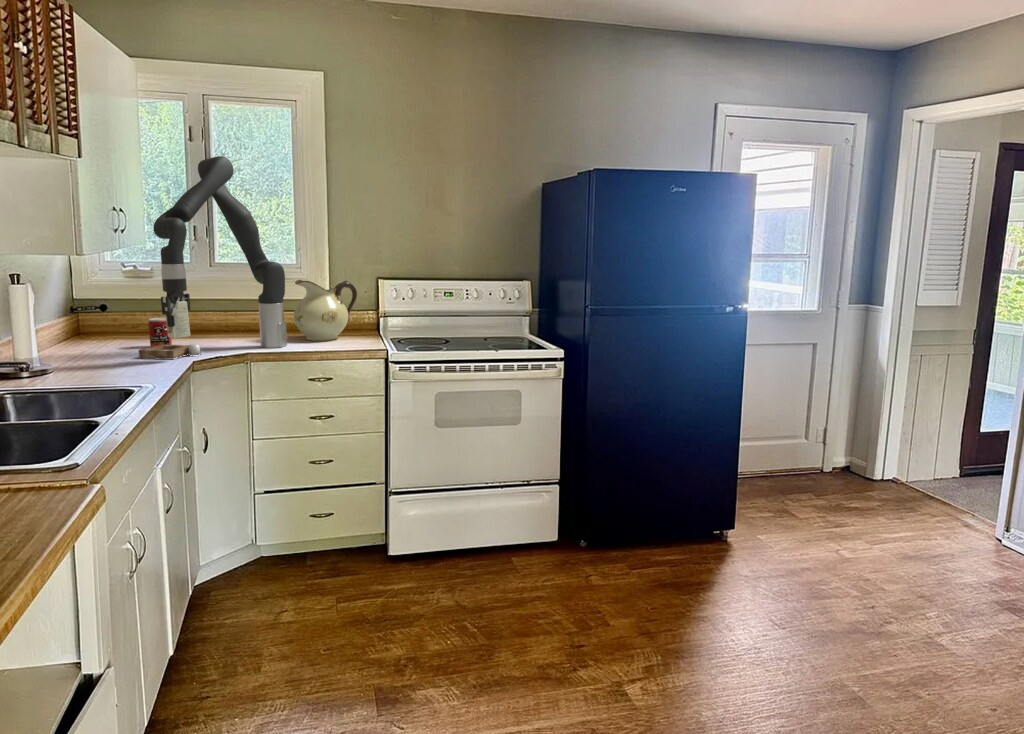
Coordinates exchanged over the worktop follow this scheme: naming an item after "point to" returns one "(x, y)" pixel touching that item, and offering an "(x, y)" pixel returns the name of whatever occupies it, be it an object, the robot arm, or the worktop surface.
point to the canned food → (158, 332)
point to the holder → (164, 351)
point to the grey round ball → (194, 349)
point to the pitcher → (323, 311)
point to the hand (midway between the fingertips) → (177, 325)
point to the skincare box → (179, 321)
